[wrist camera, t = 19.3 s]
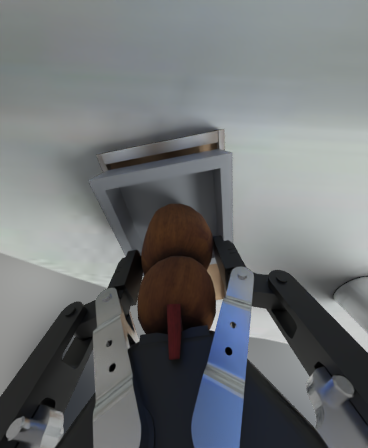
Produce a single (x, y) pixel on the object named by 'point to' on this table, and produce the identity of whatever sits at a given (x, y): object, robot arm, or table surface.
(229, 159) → the shallow grey tray
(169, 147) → the rail board
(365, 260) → the table surface
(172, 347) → the wooden figurine
